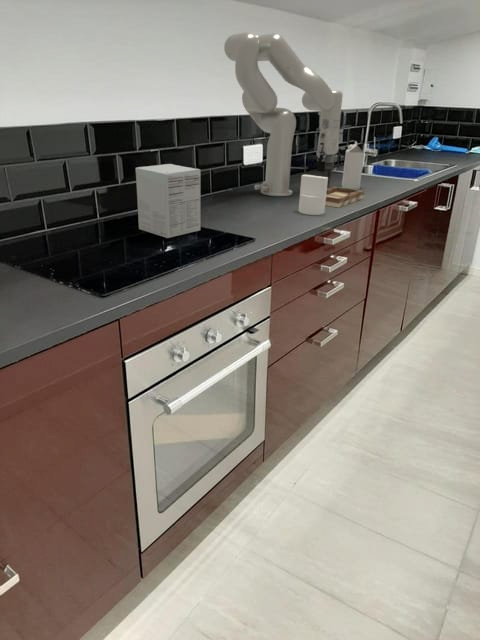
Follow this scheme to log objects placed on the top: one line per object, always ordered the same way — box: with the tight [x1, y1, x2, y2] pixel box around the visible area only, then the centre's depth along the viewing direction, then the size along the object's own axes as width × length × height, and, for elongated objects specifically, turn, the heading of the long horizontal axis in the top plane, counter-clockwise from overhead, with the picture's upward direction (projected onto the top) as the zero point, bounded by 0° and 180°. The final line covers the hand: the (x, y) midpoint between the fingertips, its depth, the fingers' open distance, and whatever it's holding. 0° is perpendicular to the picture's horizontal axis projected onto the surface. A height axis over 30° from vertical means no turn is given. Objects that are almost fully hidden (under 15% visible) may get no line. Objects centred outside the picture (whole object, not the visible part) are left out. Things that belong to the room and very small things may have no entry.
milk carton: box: [341, 141, 365, 190], centre depth 212 cm, size 7×7×19 cm
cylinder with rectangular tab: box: [298, 174, 328, 216], centre depth 169 cm, size 9×9×12 cm
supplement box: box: [135, 163, 201, 239], centre depth 140 cm, size 13×13×18 cm
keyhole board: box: [325, 185, 365, 208], centre depth 189 cm, size 22×13×3 cm, turn 144°
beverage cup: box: [316, 155, 336, 188], centre depth 203 cm, size 7×7×20 cm
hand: (325, 170), depth 204 cm, fingers closed on beverage cup, 7 cm apart
